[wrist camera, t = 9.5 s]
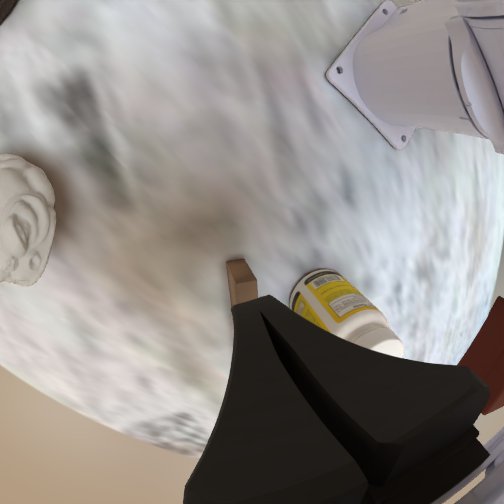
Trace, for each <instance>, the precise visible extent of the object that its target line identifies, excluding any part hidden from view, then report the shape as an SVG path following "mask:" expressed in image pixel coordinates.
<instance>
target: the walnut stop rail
mask: <svg viewBox="0 0 504 504" xmlns="http://www.w3.org/2000/svg"><path fill="white" fill-rule="evenodd" d="M226 265H227V274H228V282H229V290H230V298H231V306H232V307H233V305H236V304H239V303H243V302H246V301H250V300H253V299H256V298H258V290H257V279H256V278H255V276H254V274H253V273H252V271H251V269H250V268H249V266H248V264H247V263H246V261H245V259H240V260H235V261H229V262H226ZM233 322H234V319H233Z"/></svg>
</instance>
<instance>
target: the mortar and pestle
mask: <svg viewBox="0 0 504 504" xmlns="http://www.w3.org/2000/svg"><path fill="white" fill-rule="evenodd" d="M15 1H16V0H0V23H1V22H2V20H3V19H4V18H5V17H6V15H7V14H8V13H9V12H10V10H11V8H12V6H13V5H14V3H15Z"/></svg>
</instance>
